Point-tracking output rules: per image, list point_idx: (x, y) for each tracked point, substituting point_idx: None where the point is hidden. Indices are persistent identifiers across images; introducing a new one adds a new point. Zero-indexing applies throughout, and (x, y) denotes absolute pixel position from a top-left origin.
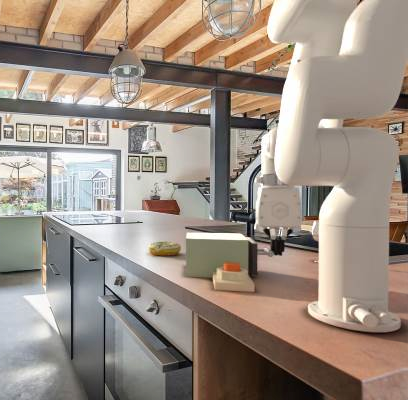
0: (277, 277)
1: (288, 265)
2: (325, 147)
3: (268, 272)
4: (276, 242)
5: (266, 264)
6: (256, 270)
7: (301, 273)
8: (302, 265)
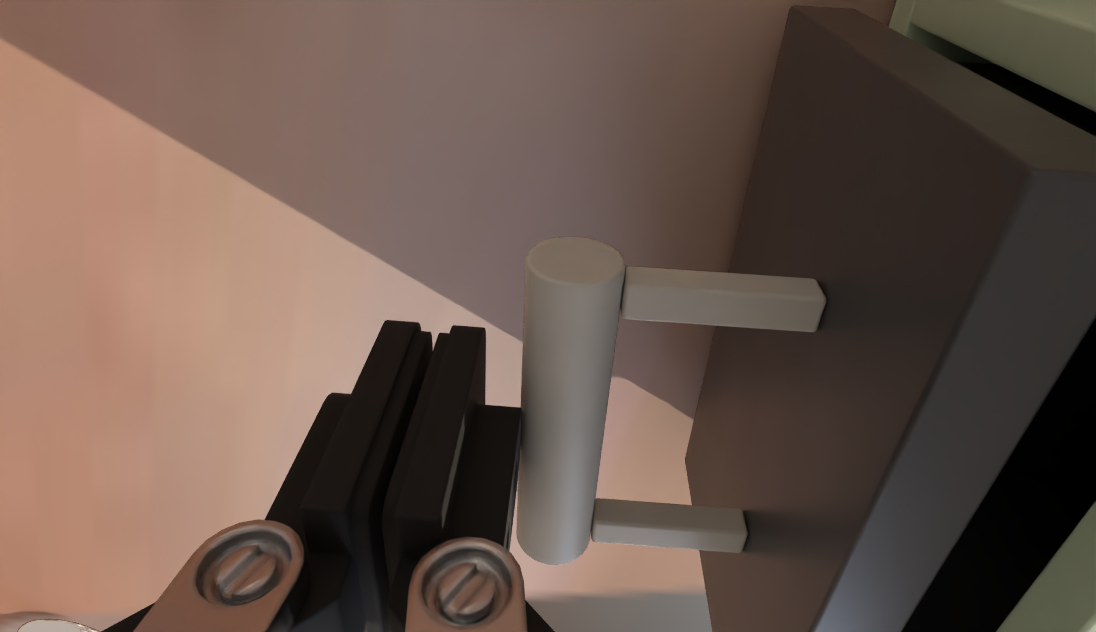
0: (501, 148)
1: None
2: None
3: None
4: (428, 470)
5: None
6: (823, 17)
7: (241, 338)
8: None
